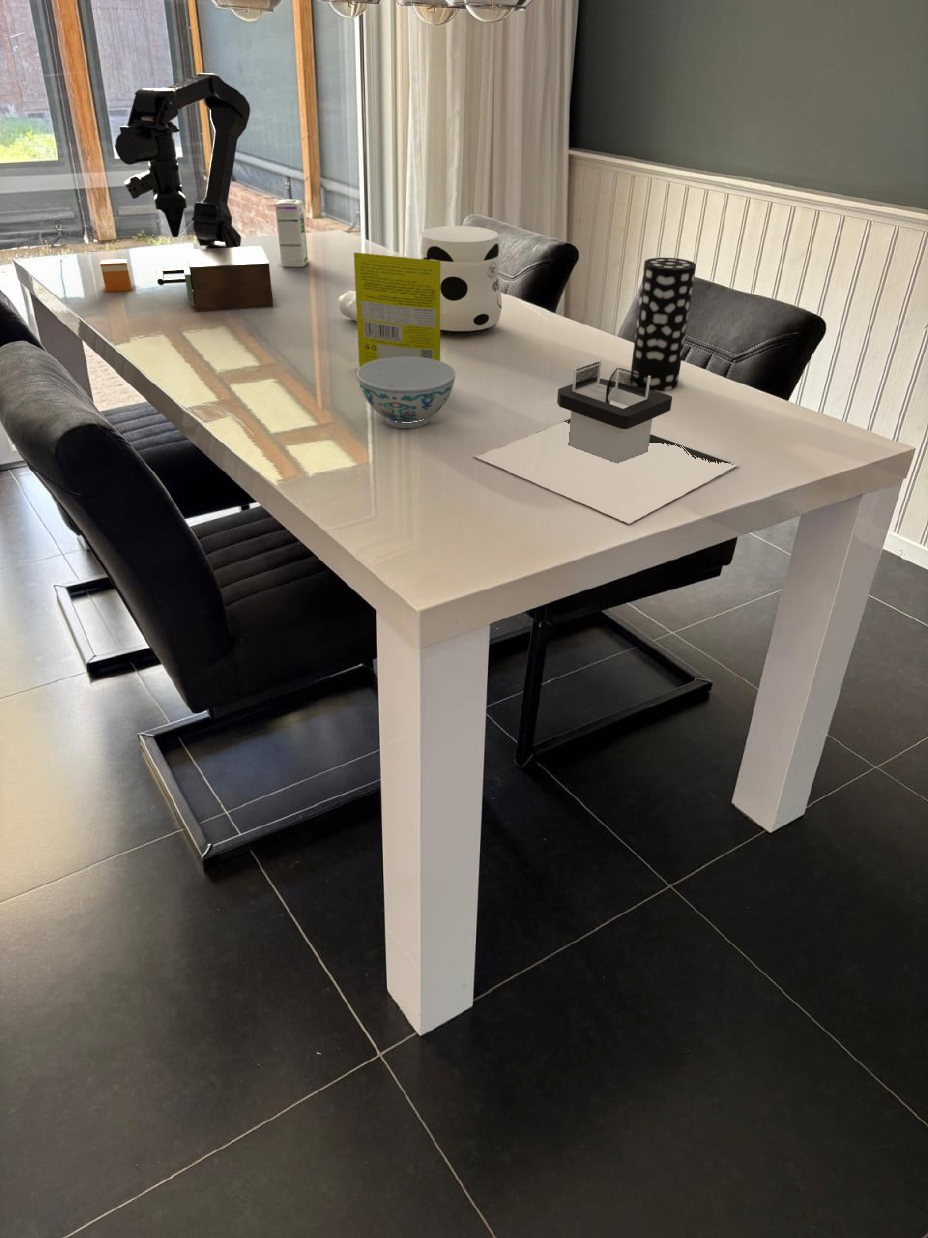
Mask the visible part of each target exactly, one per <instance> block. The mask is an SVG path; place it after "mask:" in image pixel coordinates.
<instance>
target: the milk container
mask: <svg viewBox="0 0 928 1238" xmlns="http://www.w3.org/2000/svg"><path fill="white" fill-rule="evenodd" d="M418 246H419V247H418V248H419V255H418V259H425V260H434V261H440V334H446V335H447V334H448V335H454V336H455V335H472V334H473V335H474V334H479V333H483V332H487V331H490V330H491V329H493V328H494V327H496V325H497V324H498V323H499V321H500V318H501V315H502V307H503V305H502V304H503V302H502V300H503V299H502V293H501V291H500V286H499V285H500V284H499V267H500V256H499V254H500V236H499V233H498V232H496V231H495V230H493V229H489V228H485V227H479V226H469V225H446V226H444V225H443V226H436V227H430V228H426V229H424V230H422V231H421V233H420V235H419V245H418Z"/></svg>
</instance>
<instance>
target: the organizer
mask: <svg viewBox="0 0 928 1238" xmlns="http://www.w3.org/2000/svg"><path fill="white" fill-rule="evenodd" d="M186 254H187V262H188V267H189V272H190V275H191V276H192V283H193V290H194V296H195V303H196V305H195V310H196V312H209V311H210V312H211V311H225V310H227V311H228V310H244V309H261V308H273V307H274V301H273V300H274V299H273V288H272V279H271V270H270V263H269V260H268V258H267V256H266V254H265V252H264V250H263V248H262V246H243V247H241V246H239V247H238V248H216V249H206V248H197V249H186Z"/></svg>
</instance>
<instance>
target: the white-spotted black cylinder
mask: <svg viewBox="0 0 928 1238" xmlns="http://www.w3.org/2000/svg"><path fill="white" fill-rule="evenodd" d="M696 269H697V264H696V263H695V262H694V261H691V260H688V259H684V258H675V257H653V258H648V259H646V260H644V262H643V271H642V279H641V287H640V296H639V303H638V312H637V320H636V327H635V328H636V329H635V336H634V343H633V351H632V360H631V367H630V371H631V372H635V373H638V374H641V375H644V376H651V378H650V385H649V390H653V391H657V392H663V391H664V392H665V391H670V390H673V389H675V388H677V387H678V383H679V377H680V371H681V366H682V358H683V351H684V347H685V345H684V344H685V338H686V333H687V326H688V321H689V313H690V307H691V300H692V294H693V288H694V281H695V275H696ZM631 375H632V376H634V377H636V375H635V374H634V373H631ZM632 376H631V378H632V379H633V377H632ZM638 377H639V378H640V379H641V380H642V379H643V378H642V377H641V376H640V375H638ZM639 378H637V379H638V380H639ZM635 379H636V378H635ZM644 379H645V380H648V379H647V378H646V377H644ZM630 380H631V379H630ZM645 380H644V382H645V384H646V385H647V383H646V381H645ZM633 381H634V383H635V385H636V386H637V387H638V385H637V384H636V382H635V380H634V379H633ZM636 381H637V380H636ZM639 382H640V384H641V386H642V387H643V385H642V383H641V381H640V380H639ZM642 382H643V381H642ZM643 384H644V383H643ZM633 385H634V384H633ZM639 386H640V385H639ZM640 388H641V387H640ZM643 388H644V387H643Z"/></svg>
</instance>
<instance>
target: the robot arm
mask: <svg viewBox="0 0 928 1238" xmlns="http://www.w3.org/2000/svg"><path fill="white" fill-rule="evenodd" d="M200 101H202V102H203V105H204V106H205V107H206V108H207V109H208V110H209V112H210V115H209V116H210V117H209V118H210V121H211V124H212V127H213V130H214V137H213V144H212V150H211V157H210V164H209V172H208V178H207V184H206V185H207V186H206V191H205V198H203V200H202V201H201V202H195V203H194V206H193V216H192V218H191V221H192V229H193V232H194V234H195V237H196V239H197V242H198V244H199V246H200V247H205V249H216V248H239V247H241V244H242V236H241V235H240V234H239V233H238V231H237V230H236V229H235V228H234V227H233V216H232V212H231V209H230V206H229V205H228V203H229V197H230V190H231V183H232V176H233V171H234V164H235V157H236V151H237V144H238V139H239V138H240V137H241V135H242V134H243V133H244V131H246V129H247V127H248V122H249V118H250V115H251V105H250V102H249V101H248V100H247V98H246V96H245V95H244V94H242V93H241V92H240V91H239V90H238V89H236V88H234V86H231V85H230V84H229V83H227V82H225V81H224V80H223V79H222V78H221V76H219V75H217V74H215V73H207V72H205V73H204V72H200V73H197V74H196V75H195V76H193V77H190V78H187V79H185V80H183V81H180V82H177V83H175V84H172V85H170V86H167V87H161V88H160V87H159V88H157V87H156V88H140V89H137V90H136V91H135V93H134V98H133V103H132V106H131V110H130V114H129V117H128V121H127V124H126V125H122V126H119V132H120V133H119V134H118V135H117V136H116V139H115V144H114V148H115V152H116V155H117V157H118V158H119V160H121V162H123V163H124V164H125V165H128V166H129V165H130V166H131V165H136V164H142V163H147V162H148V164H147V167H148V170H147V171H144V172H142V173H139V174H134V175H133V176H129V178H128V179H126V180H125V181H124V185H125V187H126V190H127V191H128V192H129V195H130V196H131V198H132V200H135V199H138V198H140V196H142V195H144V194H146V193H149V192H150V191H152V194H153V199H154V205H155V210H158V211H161V213H163V214H164V216H165V219H166V222H167V225H168V227H169V230H170V233H171V236H172V237H173V238H178V237H179V234H180V229H181V224H182V221H183V215H184V213H185V209H187V208H188V207H187V201H186V196H185V194H183V189H182V188H183V187H182V184H181V178H180V169H179V164H178V158H177V152H176V146H175V139H174V134H176V133H179V132H180V128H179V127H178V126H177V125H176V124H175V123H173V120H175V118H177V117H178V116H179V115H180V111H181V110H182V109H184V108H186V107H188V106H191V105H193V104H195V103H198V102H200Z"/></svg>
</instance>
